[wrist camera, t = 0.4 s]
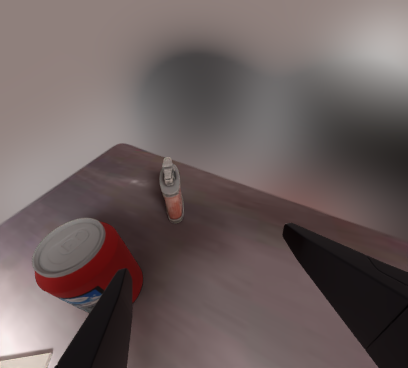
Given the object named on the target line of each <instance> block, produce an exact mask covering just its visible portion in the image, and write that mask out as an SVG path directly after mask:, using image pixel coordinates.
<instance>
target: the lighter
mask: <svg viewBox="0 0 408 368" xmlns="http://www.w3.org/2000/svg"><path fill="white" fill-rule="evenodd" d="M162 165H163V167H162V169H161V172H160V178H159V179H160V187H161V190H162V194H163V198H164V199H165V202H166V210H167V214H168V218H169V221H170V222H171V223H179V222H181V221H182V220H183V215H184V203H183V199H182V195H181V190H180V175H179V171H178V169H177V167H176V165H174V164H173V163H172V162H171V158H165V159H164V163H162Z"/></svg>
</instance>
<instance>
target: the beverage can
mask: <svg viewBox="0 0 408 368" xmlns="http://www.w3.org/2000/svg"><path fill="white" fill-rule="evenodd" d="M32 266H33V268H34V270H35V278H36V282H37V284H38V286H39V287H40V288H41V289H42V290H44V291H46V292H48V293H50V294H52V295H54V296H56V297H57V298H59V299H61V300H63V301H65V302H67V303H69V304H71V305H73V306H75V307H78V308H80V309H82V310H84V311H86V312H88V313H90V312H91V311H92V309H93V307H94V306H95V304H96V303H97V301H98V300H99V298H100V297H101V295H102V294H103V292H104V291H105V289H106V287H107V286H108V284H109V283H110V281H111V280H112V278H113V277H114V275H115V274H116V272H117V271H118V270H120V269H123V268H127V269H128V270H129V273H130V275H131V277H132V304H133V302H134V301H135V300H136V298H137V297H138V295H139V293H140V290H141V287H142V282H143V275H142V271H141V269H140V267H139V265H138V264H137V262H136V261H135V259H134V257H133V256H132V254H131V253H130V251H129V250H128V248H127V246H126V245H125V243H124V242H123V240H122V239H121V237H120V236H119V235H118V233H117V232H116V230H115V229H114V228H113V227H112V226H111V225H109V224H107V223H104V222H99V221H98V220H96V219H93V218H80V219H75V220H72V221H69V222H67V223H65V224H63V225H61V226H59V227H57V228H56V229H54V230H53V231H52V232H50V233H49V234H48V235H47V236H46V237H45V238H44V239H43V240H42V241H41V242H40V244H39V245H38V246H37V248H36V250H35V252H34V254H33V257H32Z"/></svg>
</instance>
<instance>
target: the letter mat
mask: <svg viewBox="0 0 408 368" xmlns="http://www.w3.org/2000/svg"><path fill="white" fill-rule="evenodd" d="M51 356H52V353H46V354H40V355H34V356H28V357H22V358H16V359H10V360H4V361H0V368H47V366H48V364H49V361H50V359H51Z"/></svg>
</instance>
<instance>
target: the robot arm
mask: <svg viewBox="0 0 408 368" xmlns="http://www.w3.org/2000/svg"><path fill="white" fill-rule="evenodd" d="M283 238H284V240H285V241H286V243H287V244H288V246H289V248H290V249H291V251H292V252H293V254H294V256H295V257H296V259H297V260H298V262H299V263H300V264H301V266H302V267H303V268H304V270H305V271H306V272H307V274H308V275H309V276H310V278H311V279H312V280H313V282H314V283H315V284H316V286H317V287H318V288H319V290H320V291H321V292H322V293H323V295H324V296H325V297H326V299H327V300H328V301H329V303H330V304H331V305H332V307H333V308H334V309H335V311H336V312H337V313H338V315H339V316H340V317H341V319H342V320H343V321H344V322H345V324H346V325H347V326H348V328H349V329H350V330H351V332H352V333H353V334H354V336H355V337H356V338H357V340H358V341H359V342H360V344H361V345H362V346H363V348H364V349H365V350H366V352H367V353H368V354H369V356H370V357H371V358H372V360H373V361H374V362H375V364H376V365H377V366H378V367H379V368H408V272H406V271H403V270H401V269H398V268H396V267H393V266H391V265H388V264H386V263H384V262H381V261H379V260H376V259H374V258H372V257H370V256H366V255H365V254H363V253H360V252H358V251H356V250H353V249H351V248H349V247H346V246H344V245H342V244H340V243H337V242H335V241H333V240H330V239H328V238H326V237H323V236H321V235H319V234H317V233H314V232H312V231H310V230H307V229H305V228H303V227H300V226H298V225H296V224H294V223H288V224H285V225H284V229H283ZM131 324H132V277H131V275H130V273H129V270H128V269H127V268H123V269H120V270H118V271H117V272H116V274H115V275H114V277H113V278H112V280H111V281H110V283H109V284H108V286H107V287H106V289H105V291H104V292H103V294H102V295H101V297H100V298H99V300H98V301H97V303H96V304H95V306H94V307H93V309H92V311H91V312H90V314H89V315H88V317H87V318H86V320H85V321H84V323H83V324H82V326H81V328H80V329H79V331H78V332H77V334H76V335H75V337H74V338H73V340H72V341H71V343H70V344H69V346H68V348H67V349H66V351H65V352H64V354H63V355H62V357H61V358H60V360H59V361H58V365H56V366H55V367H54V368H127V360H128V351H129V342H130V333H131Z"/></svg>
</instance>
